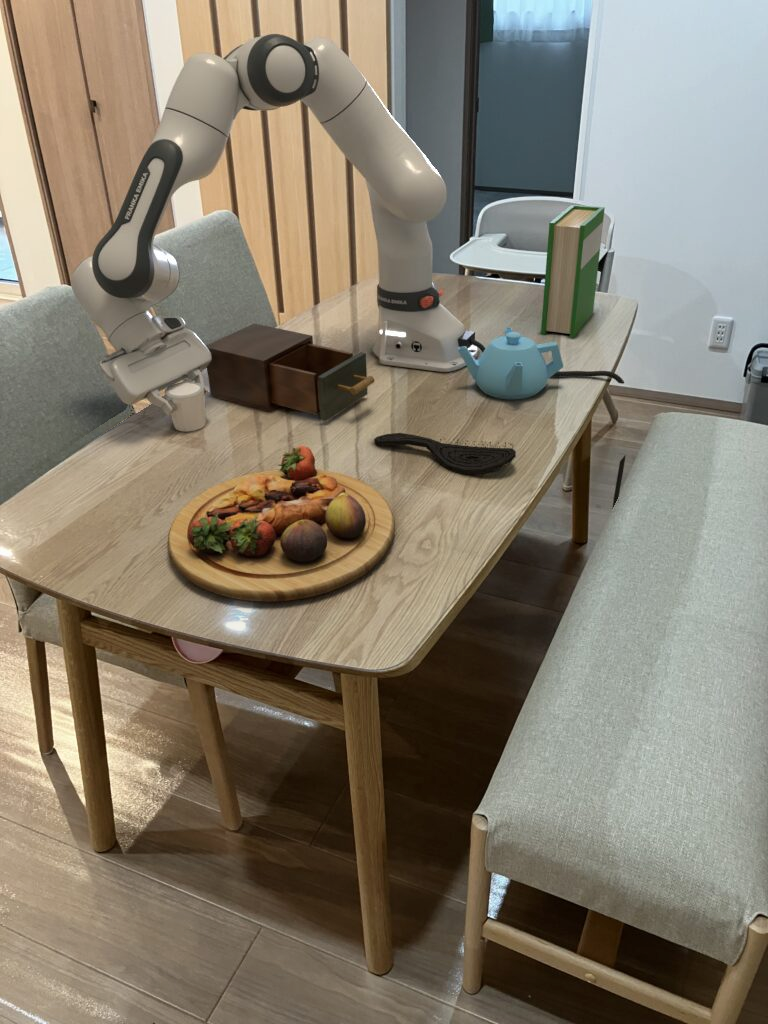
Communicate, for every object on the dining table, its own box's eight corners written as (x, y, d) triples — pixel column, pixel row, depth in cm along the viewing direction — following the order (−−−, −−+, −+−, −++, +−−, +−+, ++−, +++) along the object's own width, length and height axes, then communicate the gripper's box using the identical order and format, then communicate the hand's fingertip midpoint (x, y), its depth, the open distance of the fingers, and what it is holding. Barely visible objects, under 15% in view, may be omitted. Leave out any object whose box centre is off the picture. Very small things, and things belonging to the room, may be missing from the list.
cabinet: (316, 384, 164) (312, 335, 158) (269, 412, 153) (263, 360, 148) (259, 370, 171) (254, 323, 165) (210, 396, 160) (203, 346, 155)
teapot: (514, 411, 151) (518, 355, 145) (454, 388, 160) (455, 335, 155) (565, 387, 159) (571, 333, 154) (505, 366, 169) (508, 315, 163)
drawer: (386, 398, 155) (385, 357, 150) (345, 426, 145) (343, 382, 141) (310, 380, 163) (307, 340, 159) (267, 405, 154) (262, 363, 149)
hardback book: (573, 338, 181) (584, 225, 168) (540, 334, 184) (549, 222, 171) (592, 313, 195) (604, 207, 182) (562, 309, 197) (571, 204, 185)
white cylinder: (216, 419, 151) (211, 384, 148) (194, 435, 146) (188, 399, 142) (186, 413, 154) (180, 378, 150) (163, 429, 149) (156, 393, 145)
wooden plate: (244, 466, 136) (238, 421, 132) (426, 501, 125) (426, 452, 121) (122, 575, 111) (109, 523, 107) (336, 630, 100) (332, 575, 96)
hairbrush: (385, 417, 144) (523, 438, 133) (387, 436, 146) (522, 458, 135) (362, 437, 138) (505, 460, 127) (364, 457, 139) (505, 481, 129)
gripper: (100, 350, 137) (152, 416, 138) (187, 314, 151) (234, 374, 152) (88, 370, 142) (138, 434, 142) (173, 333, 156) (219, 391, 157)
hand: (189, 403), depth 147 cm, fingers closed on white cylinder, 7 cm apart
